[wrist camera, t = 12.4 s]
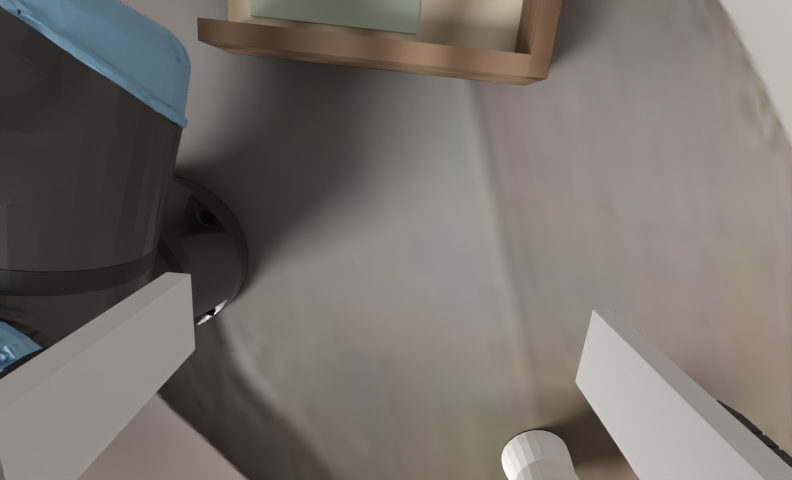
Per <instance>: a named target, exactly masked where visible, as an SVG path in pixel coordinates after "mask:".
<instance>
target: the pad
mask: <svg viewBox="0 0 792 480" xmlns="http://www.w3.org/2000/svg"><path fill="white" fill-rule="evenodd" d="M419 5H420V0H250V15H251V16H255V17H264V18H273V19H282V20H291V21H300V22H309V23H318V24H327V25H336V26H345V27H354V28H363V29H372V30H381V31H390V32H399V33H408V34H416V33H417V24H418V15H419Z"/></svg>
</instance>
